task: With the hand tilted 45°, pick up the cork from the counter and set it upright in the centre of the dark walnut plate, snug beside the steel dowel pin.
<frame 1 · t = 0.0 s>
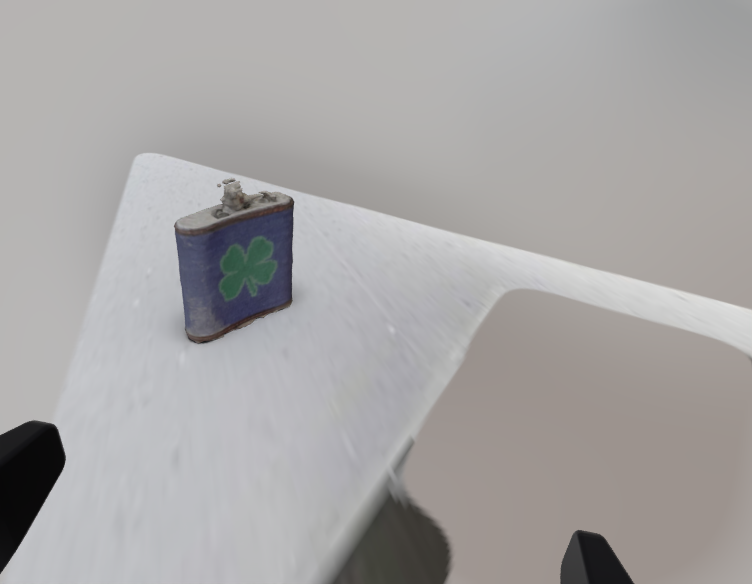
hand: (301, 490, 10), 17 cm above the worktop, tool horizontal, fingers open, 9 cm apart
flask: (242, 318, 43), on the worktop
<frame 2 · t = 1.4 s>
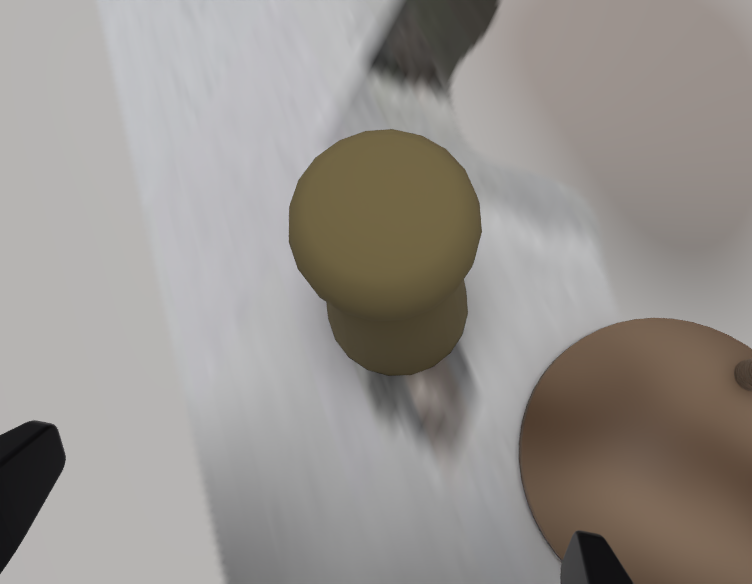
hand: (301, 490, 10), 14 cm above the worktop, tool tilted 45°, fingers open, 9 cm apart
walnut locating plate: (663, 461, 22), on the worktop
cork: (397, 306, 24), on the worktop
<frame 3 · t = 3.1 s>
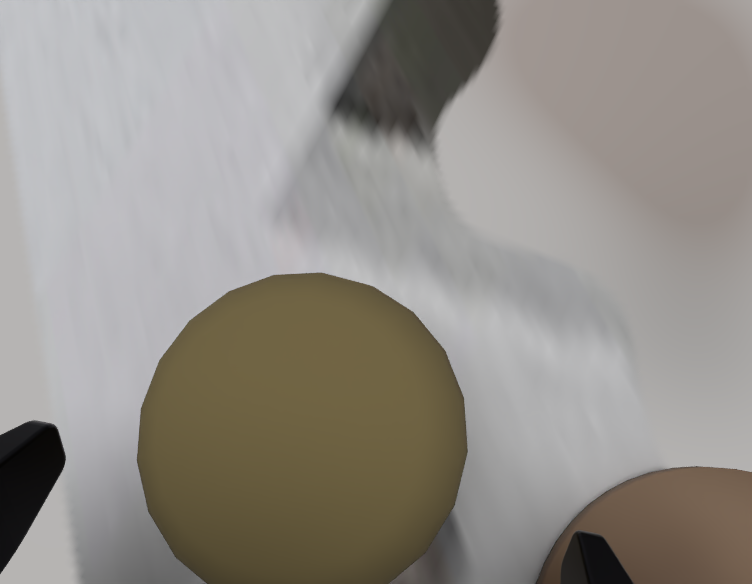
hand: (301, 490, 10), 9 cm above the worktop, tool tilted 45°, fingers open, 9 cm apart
cork: (362, 437, 18), on the worktop
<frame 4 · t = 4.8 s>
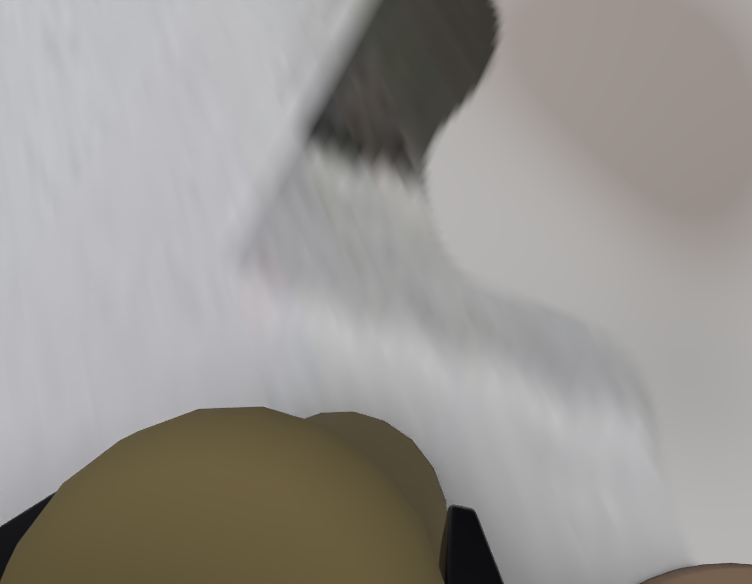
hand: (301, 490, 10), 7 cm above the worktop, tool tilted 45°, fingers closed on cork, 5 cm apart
cork: (339, 521, 16), on the worktop, touching gripper
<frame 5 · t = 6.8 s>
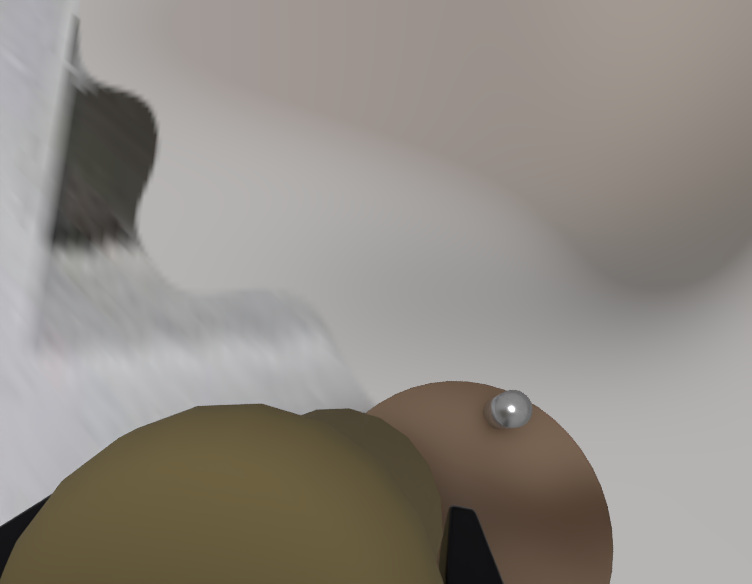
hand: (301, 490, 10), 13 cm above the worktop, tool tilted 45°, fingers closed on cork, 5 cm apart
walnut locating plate: (457, 528, 22), on the worktop
cork: (334, 517, 16), point 6 cm above the worktop, touching gripper
when the fingers open (9 cm above the worktop, at t = 9.0 s): cork drops 1 cm, resting on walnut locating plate.
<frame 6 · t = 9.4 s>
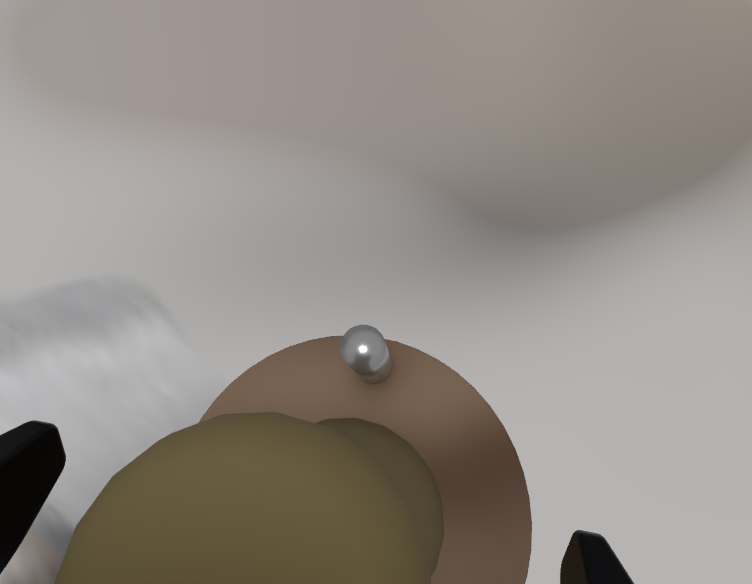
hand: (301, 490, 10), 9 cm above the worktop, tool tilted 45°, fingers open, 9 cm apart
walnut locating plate: (348, 512, 18), on the worktop
cork: (343, 519, 17), point 1 cm above the worktop, touching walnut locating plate
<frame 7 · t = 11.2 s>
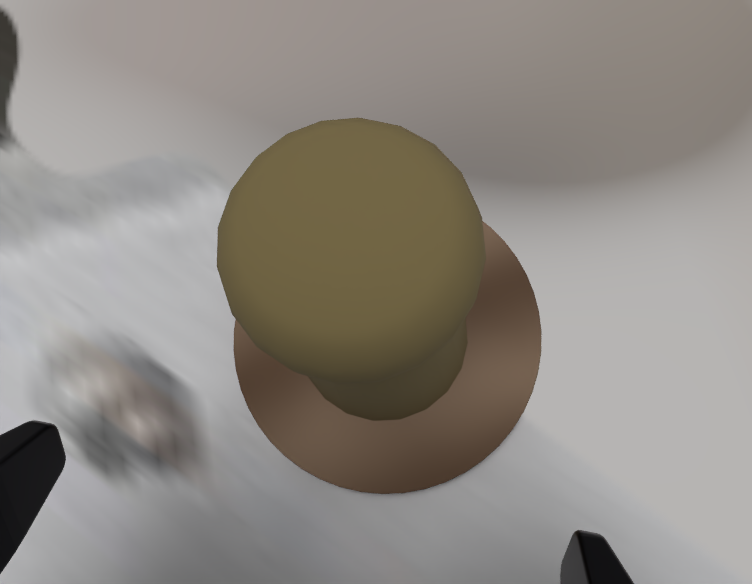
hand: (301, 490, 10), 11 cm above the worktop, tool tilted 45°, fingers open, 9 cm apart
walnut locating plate: (385, 335, 21), on the worktop
cork: (382, 335, 20), point 1 cm above the worktop, touching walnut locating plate
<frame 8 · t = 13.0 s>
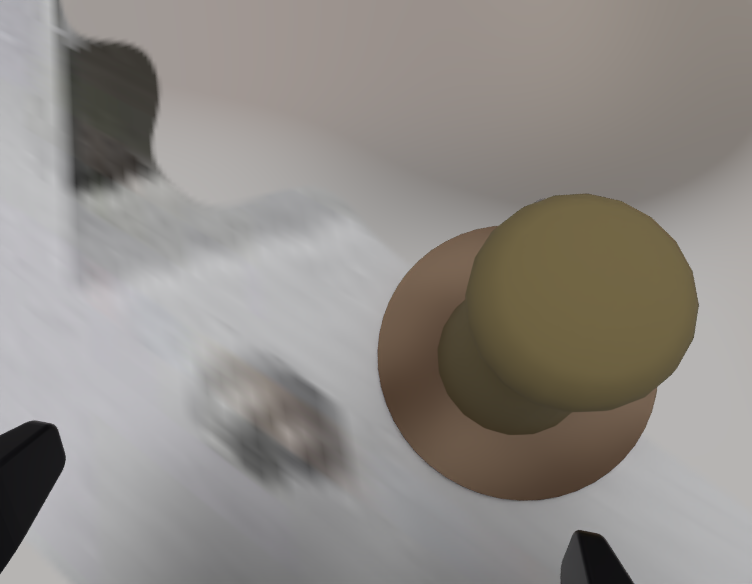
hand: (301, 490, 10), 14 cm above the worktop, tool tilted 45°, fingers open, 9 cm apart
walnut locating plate: (511, 357, 23), on the worktop
cork: (512, 358, 23), point 1 cm above the worktop, touching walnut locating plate
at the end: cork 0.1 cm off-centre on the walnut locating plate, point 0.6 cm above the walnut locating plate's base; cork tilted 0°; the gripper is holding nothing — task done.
